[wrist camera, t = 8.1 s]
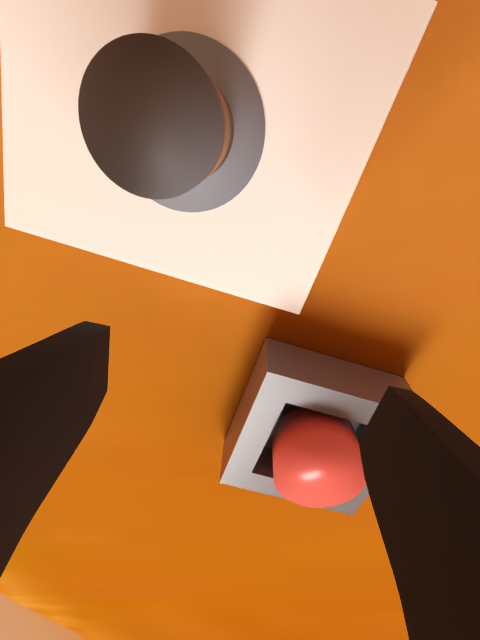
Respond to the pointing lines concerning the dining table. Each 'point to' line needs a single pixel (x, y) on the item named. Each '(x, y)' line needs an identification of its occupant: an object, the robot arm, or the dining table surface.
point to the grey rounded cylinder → (153, 116)
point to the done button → (316, 459)
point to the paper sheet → (248, 139)
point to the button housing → (290, 394)
